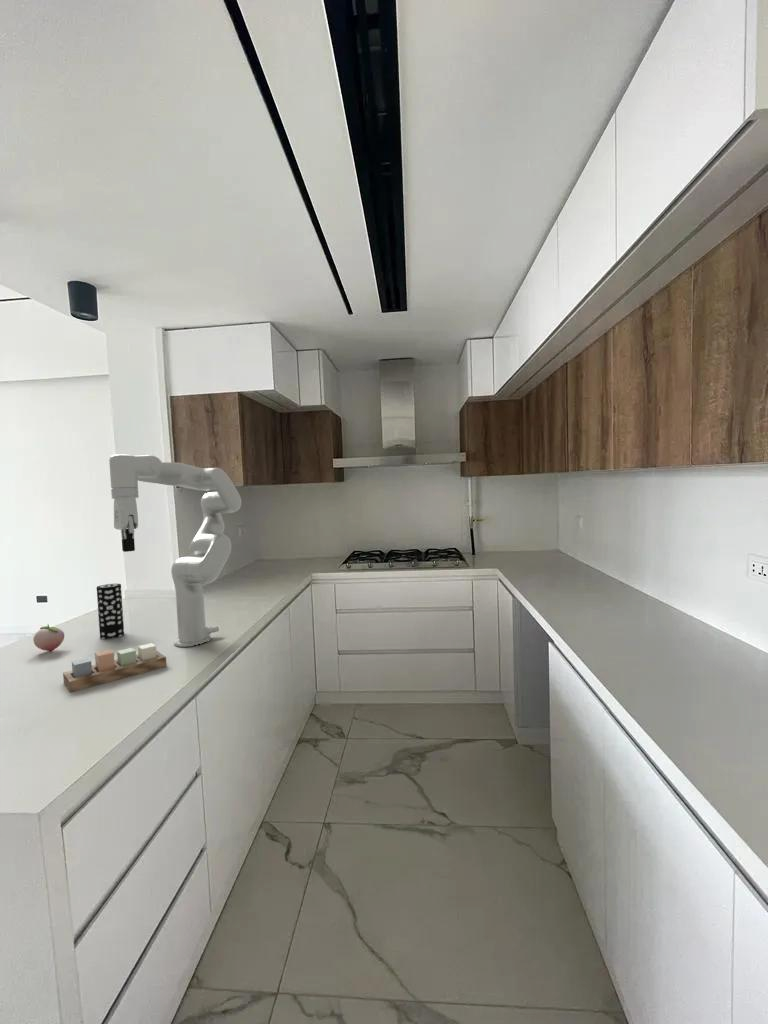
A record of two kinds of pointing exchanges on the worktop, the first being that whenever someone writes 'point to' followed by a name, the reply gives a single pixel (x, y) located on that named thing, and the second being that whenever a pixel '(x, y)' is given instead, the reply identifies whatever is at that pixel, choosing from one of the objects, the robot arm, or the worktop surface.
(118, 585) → the spotted tube
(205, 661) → the worktop surface
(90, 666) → the grey block
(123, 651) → the key sage
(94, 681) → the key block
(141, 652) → the cream block
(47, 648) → the decorative fruit
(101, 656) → the key terracotta
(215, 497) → the robot arm
